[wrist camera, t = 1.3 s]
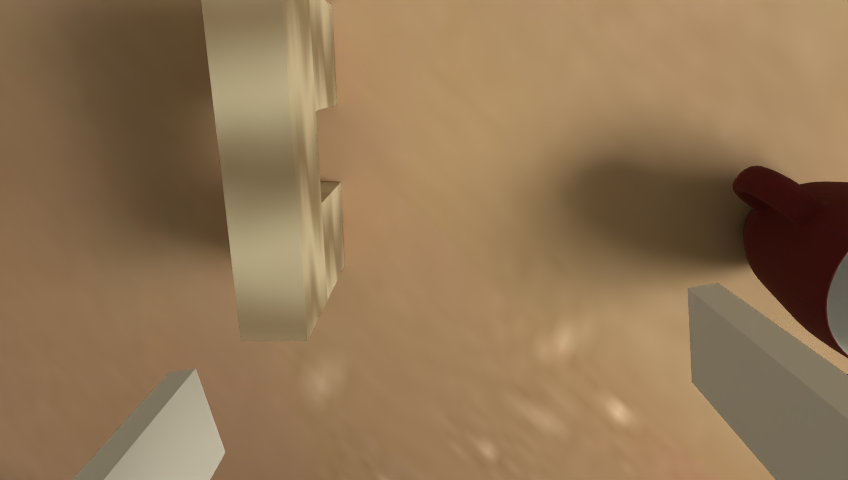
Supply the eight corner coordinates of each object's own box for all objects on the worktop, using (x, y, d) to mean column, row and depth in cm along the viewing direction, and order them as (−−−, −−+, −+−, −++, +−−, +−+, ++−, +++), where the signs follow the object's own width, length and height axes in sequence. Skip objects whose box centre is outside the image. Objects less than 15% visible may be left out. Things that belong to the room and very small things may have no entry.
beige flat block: (344, 264, 33) (307, 341, 23) (297, 264, 33) (241, 340, 24) (332, 5, 29) (279, -31, 19) (277, 5, 29) (197, -30, 19)
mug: (648, 228, 32) (738, 294, 22) (735, 110, 30) (877, 127, 20) (782, 309, 33) (922, 403, 24) (876, 202, 31) (1070, 258, 22)
